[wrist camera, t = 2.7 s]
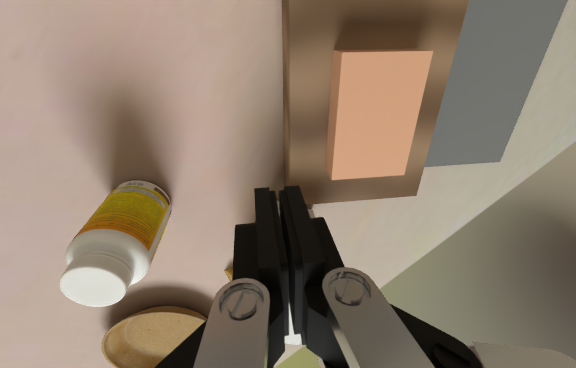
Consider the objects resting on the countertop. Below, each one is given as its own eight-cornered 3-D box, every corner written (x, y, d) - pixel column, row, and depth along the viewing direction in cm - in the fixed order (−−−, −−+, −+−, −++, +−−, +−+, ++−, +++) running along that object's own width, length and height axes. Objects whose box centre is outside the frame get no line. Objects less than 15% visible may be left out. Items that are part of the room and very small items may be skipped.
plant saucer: (117, 362, 39) (109, 383, 37) (101, 293, 32) (91, 313, 30) (222, 358, 42) (221, 377, 40) (228, 294, 35) (227, 312, 33)
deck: (281, -7, 20) (289, -14, 16) (435, -6, 21) (472, -13, 18) (284, 183, 28) (290, 205, 24) (396, 175, 29) (416, 195, 26)
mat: (445, -22, 21) (447, -23, 21) (572, -21, 22) (576, -22, 22) (402, 167, 29) (404, 168, 29) (497, 160, 30) (499, 161, 30)
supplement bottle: (107, 175, 25) (32, 255, 16) (172, 180, 26) (134, 258, 17) (115, 223, 28) (55, 315, 19) (174, 226, 29) (142, 314, 20)
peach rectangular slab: (333, 49, 19) (342, 52, 17) (416, 48, 19) (433, 50, 17) (325, 168, 23) (331, 180, 21) (392, 164, 24) (404, 175, 22)
